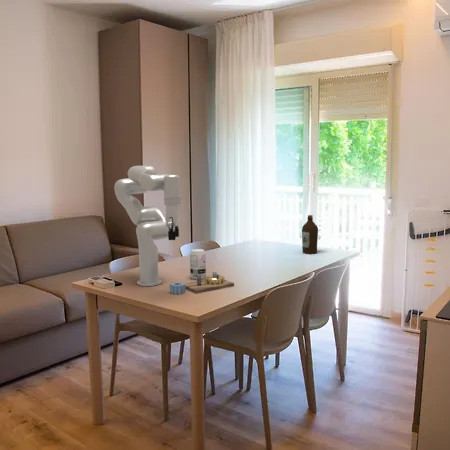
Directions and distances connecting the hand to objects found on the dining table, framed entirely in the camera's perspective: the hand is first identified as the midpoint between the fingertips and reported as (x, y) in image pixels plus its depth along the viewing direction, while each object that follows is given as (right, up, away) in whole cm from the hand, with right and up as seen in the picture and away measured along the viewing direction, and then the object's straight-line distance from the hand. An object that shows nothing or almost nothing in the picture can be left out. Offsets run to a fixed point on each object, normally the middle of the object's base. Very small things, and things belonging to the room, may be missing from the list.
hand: (173, 238), depth 227 cm
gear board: (+15, -24, +15) cm, 33 cm away
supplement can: (+10, -22, +33) cm, 41 cm away
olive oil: (+80, -12, +96) cm, 125 cm away
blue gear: (+1, -26, +6) cm, 27 cm away
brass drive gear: (+19, -23, +17) cm, 34 cm away
